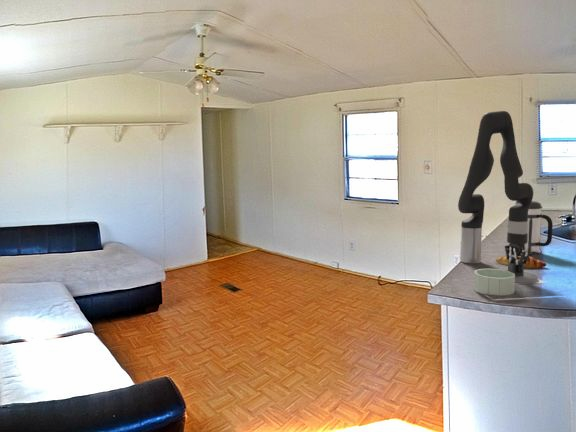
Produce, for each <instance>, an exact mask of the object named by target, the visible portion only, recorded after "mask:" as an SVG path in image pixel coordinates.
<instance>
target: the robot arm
mask: <svg viewBox="0 0 576 432" xmlns="http://www.w3.org/2000/svg"><path fill="white" fill-rule="evenodd" d="M514 131H515V130H514V124H513V120H512V116H511V115H510V113H509V112H508V111H506V110H499V111H489V112H486V113H484V114H483V116H481V119H480V123H479V127H478V132H477V133H478V134H477V138H476V144H475V148H474V152H473V156H472V159H471V161H470V165H469V169H468V174H467V177H466V180H465V182H464V186H463V188H462V190H461V194H460V196H459V198H458V204H457V209H458V211H459V213H461V214H471V216H469V217H468V218H466V219H464V220H462V221H461V226H460V227H461V228H460V230H461V231H460V233H461V234H460V235H461V236H460V248H459V249H460V253H459V254H460V255H459V259H460V260H459V261H460V262H462V263H463V264H472V265H474V264H480V263H481V262H482V261H481V260H482V238H483V235H482V234H483V224H484V223H483V222H484V216H485V215H484V214H485V212H484V211H485V198H484V196H483V195H482V194H480V193H475V191H476V189H477V188H479V186H481V184H483V183H484V182H485V181H486V180H487V179H488V178H489V177H490V175H491V173H492V169H493V167H494V162H495V159H494V155H493V153H492V149H491V147H490V144H491V140H492V136H493V135H495V134H500V135H501V138H502V148H501V153H500V156H499V157H500V158H499V163H500V167H501V170H502V173H503V175H504V176H503V177H504V180H503V181H504V193H505V196H506V197H507V199H509V200H510V201H512V202H515V204H514V205H513V206H510V207H509V210H508V223H507V232H506V242H507V243H509V244H507V245H505V246H504V251H505V257H507V259H509V262H510V263H516V264H517V265H516V273H517V274H520V273H522V265H523V264H526V263H527V260H528V257H529V254H530V253H529V251H526V250H525V246H524V245H525V244H526V243H527V241H528V210H529V208H530V205H531V202H532V201H533V198H534V189H533V186H532V185H531V184H530V183H528V182H521V183H519V178H521V177H522V176H523V174H524V171H523V167H522V163H521V162H520V158H519V156H518V151H517V146H516V137H515V132H514ZM518 256H521V257H518ZM519 259H520V261H519ZM523 260H524V261H523Z"/></svg>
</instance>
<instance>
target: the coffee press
mask: <svg viewBox="0 0 576 432" xmlns="http://www.w3.org/2000/svg"><path fill="white" fill-rule="evenodd" d="M542 209H543V206H542V203H540V202H538V201H537V200H536V201H534V200H532V202H531V205H530V208H529V210H528V241H527V243H526V244H525V245H524V246H525V250H526V251H529V253H530V254H529V256H530V257H532V253H536V252H537V253H539V254H542V253H543V250H541V248H540V247H548V246H549V245H550V244H551V243H552V239H553V221H552V218H551V217H550V216H548V215H546V214H542ZM542 219H544V220H546V221H547V236H546V237H547V238H546V241H545V242H541V230H542V229H541V228H542V227H541V226H542ZM539 251H540V252H539Z"/></svg>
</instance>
